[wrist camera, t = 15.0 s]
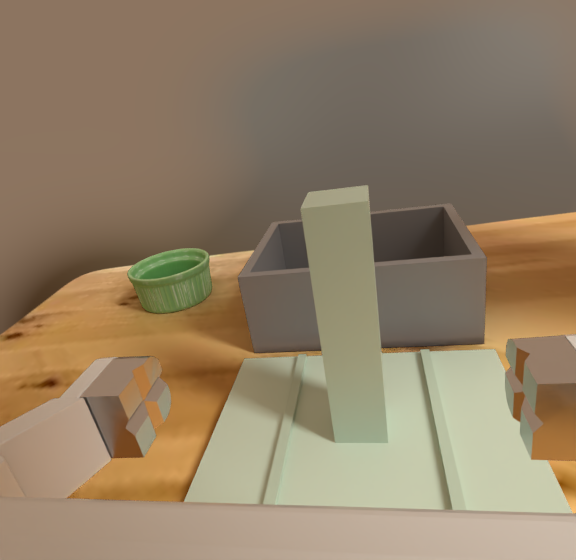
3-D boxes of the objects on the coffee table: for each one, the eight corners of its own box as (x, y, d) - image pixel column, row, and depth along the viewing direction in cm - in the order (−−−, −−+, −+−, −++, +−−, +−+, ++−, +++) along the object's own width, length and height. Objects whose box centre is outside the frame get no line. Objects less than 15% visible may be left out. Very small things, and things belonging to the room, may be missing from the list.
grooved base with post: (494, 360, 31) (504, 145, 25) (588, 568, 18) (656, 223, 12) (247, 368, 35) (203, 184, 29) (176, 544, 22) (70, 275, 16)
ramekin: (200, 315, 44) (190, 276, 43) (123, 319, 47) (110, 282, 45) (227, 278, 52) (219, 245, 51) (160, 283, 54) (150, 251, 53)
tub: (451, 269, 45) (450, 203, 42) (484, 343, 32) (486, 257, 30) (282, 281, 49) (272, 222, 46) (254, 352, 36) (237, 277, 33)
